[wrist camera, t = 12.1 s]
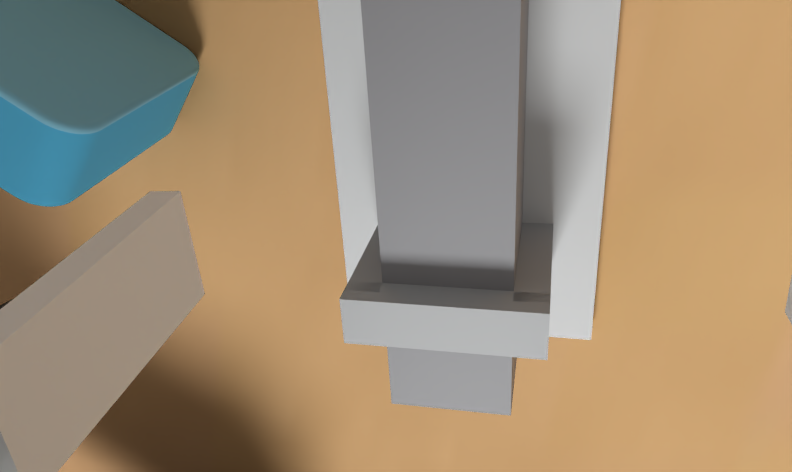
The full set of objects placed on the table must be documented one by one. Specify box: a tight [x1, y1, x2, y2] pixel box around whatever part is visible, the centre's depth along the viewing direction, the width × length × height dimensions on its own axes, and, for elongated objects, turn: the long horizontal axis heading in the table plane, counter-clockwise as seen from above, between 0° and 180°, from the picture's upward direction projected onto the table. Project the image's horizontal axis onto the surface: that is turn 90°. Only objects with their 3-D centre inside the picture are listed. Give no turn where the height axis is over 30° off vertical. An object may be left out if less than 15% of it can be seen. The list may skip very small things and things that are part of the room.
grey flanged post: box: [318, 0, 621, 415], centre depth 32 cm, size 14×24×10 cm, turn 3°
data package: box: [0, 0, 199, 207], centre depth 33 cm, size 12×4×12 cm, turn 59°
